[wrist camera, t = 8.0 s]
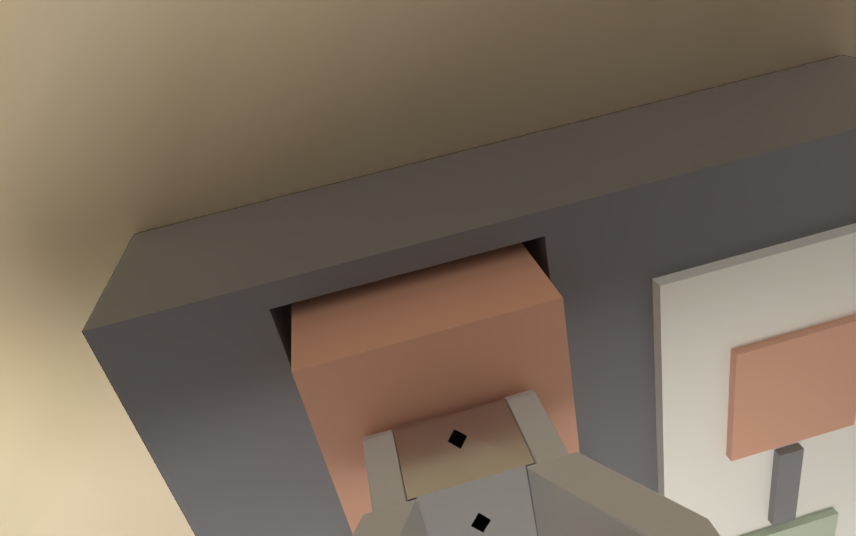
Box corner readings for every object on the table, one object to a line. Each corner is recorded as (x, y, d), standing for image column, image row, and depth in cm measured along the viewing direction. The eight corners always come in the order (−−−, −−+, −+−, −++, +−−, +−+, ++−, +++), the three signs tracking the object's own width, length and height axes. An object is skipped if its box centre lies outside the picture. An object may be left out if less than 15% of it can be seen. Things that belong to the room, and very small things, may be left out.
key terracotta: (493, 206, 14) (562, 297, 10) (519, 367, 16) (584, 489, 12) (291, 258, 13) (291, 371, 10) (345, 416, 15) (360, 555, 12)
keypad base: (842, 55, 15) (1033, 95, 11) (787, 526, 24) (887, 644, 20) (134, 234, 14) (72, 348, 10) (335, 666, 22) (344, 822, 18)
